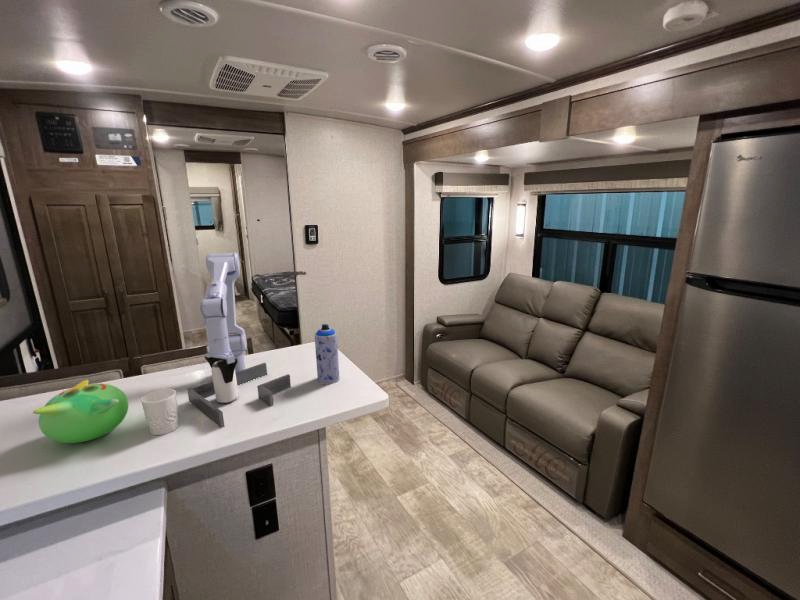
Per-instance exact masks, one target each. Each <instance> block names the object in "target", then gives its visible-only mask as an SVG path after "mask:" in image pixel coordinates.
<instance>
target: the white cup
mask: <svg viewBox="0 0 800 600" xmlns="http://www.w3.org/2000/svg"><path fill="white" fill-rule="evenodd" d="M177 399H178V398H177V394H176V390H175V389H173V388H160V389H156V390H155V389H154V390H152V391H150V392H148V393H146V394H144V395H142V397H141V399H140V401H141V406H142V409H143V413H144V416H145V420H146V423H147V426H148V429H149V433H150V435H153V436H162V435H166V434H169V433H171V432H173V431H174V430H176V429H177V428H178V427H179V426H180V423H179V410H178V400H177Z"/></svg>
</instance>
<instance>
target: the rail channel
mask: <svg viewBox="0 0 800 600" xmlns="http://www.w3.org/2000/svg"><path fill="white" fill-rule="evenodd" d="M265 375H266V376H267V375H268V370H267V363H266V362H262V363H260V364H257V365H253V366H250V367H248V368H245V369H244V370H241V371H239V372H236V380H237V385H239V386H241V385H244V384H246V382H247V383H249V382H252V381H254V380H253V379H255V380H257V379H259V378H258V377H260V378H263V377H265ZM262 376H263V377H262ZM256 378H257V379H256ZM251 380H252V381H251ZM248 381H249V382H248ZM243 383H244V384H243ZM240 384H241V385H240ZM291 385H292V383H291V376H290V374H289V373H287V374H285V375H282V376H279V377H278V378H275V379H272V380H269V381H267V382H263V383H261V384H259V385H256V387H257V395H258V400H260V401H261V402H262V403H265V404H266V405H268V406H269V407H272V406H274V397H273V396H274V395H276V394H279V393H281V392H283V391H286V390H287V389H290V388H292V386H291ZM186 391H187V396H188V402H189V403H190V404H191V405H192V406H194V408H196V409H197V410H198V411H199V412H200V413H202V414H203V415H204V416H206V418H207V419H209V420H210V421H212V422H213V423H214V424H215V425H216V426H218V428H220V429H222V427H223V428H225V420H224V413H223V411H222V410H221V409H220V408H218V407H216V406H215V405H214V404H212V403H211V402H210V401H209V400H207V399H206V398H209V397H211V396H214V395H215V390H214V384H213V379H212V380H209V381H206V382H204V383H201V384H199V385H194V386H192V387H189V388H186Z"/></svg>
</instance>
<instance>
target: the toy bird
mask: <svg viewBox="0 0 800 600" xmlns="http://www.w3.org/2000/svg"><path fill="white" fill-rule="evenodd" d="M128 411H129V400H128V397H127V395H126V394H125V392H124V391H123V390H122V389H120V388H119V387H117V386H115V385H113V384H112V385H111V384H109V383H108V384H107V383H99V382H98V383H97V382H96V383H89V379H85V380H82V381H80V382H79V383H77V384H76V385H75V386H73V387H71V388H68V389H66V390H63V391H61V392H60V393H58V394H56V395H55V396H53V397H52V398H51V399H50V400H48V401H47V402H46V403H45V405H44V406H42V407H40V408H37V409H34V410H33V411H32V413H33V414H35V415H39V416H38V427H39V429H40V431H41V432H42V434H43V435H44V436H45V437H46V438H47V439H50V440H52V441H54V442H56V443H62V444H77V443H83V442H88V441H92V440H95V439H97V438H99V437H102V436H104V435H106V434H108V433H109V432H111V431H113V430H114V429H116V428H117V427H118V426H119V425H120V424H121V423H122V422H123V421H124V420H125V418H126V416H127V414H128Z"/></svg>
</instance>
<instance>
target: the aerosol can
mask: <svg viewBox="0 0 800 600" xmlns="http://www.w3.org/2000/svg"><path fill="white" fill-rule="evenodd" d="M338 345H339V343H338V333H337V332H336V331H335V330H334V329H333V328H331V327H330V326H329V324H326V323H324V324H322V325H321V327H320V328H319V329H318V330H317V331H316V332H315V334H314V346H315V347H314V348H315V359H316V360H315V361H316V362H315V363H316V374H317V379H316V381H317V382H318V383H319V384H321V385H332V384H333V385H334V384H335V383H337V382H339V381H340V379H341V376H340V365H339V363H340V362H339V347H338Z"/></svg>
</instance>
